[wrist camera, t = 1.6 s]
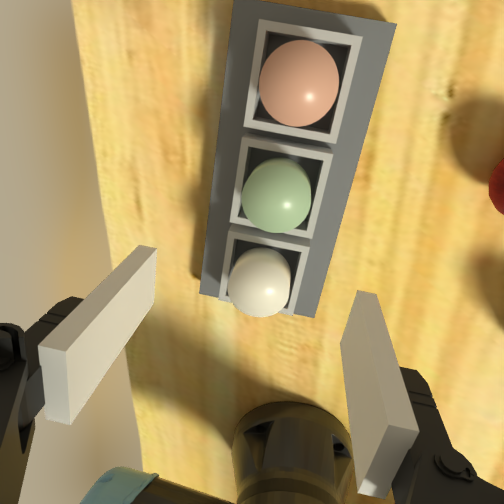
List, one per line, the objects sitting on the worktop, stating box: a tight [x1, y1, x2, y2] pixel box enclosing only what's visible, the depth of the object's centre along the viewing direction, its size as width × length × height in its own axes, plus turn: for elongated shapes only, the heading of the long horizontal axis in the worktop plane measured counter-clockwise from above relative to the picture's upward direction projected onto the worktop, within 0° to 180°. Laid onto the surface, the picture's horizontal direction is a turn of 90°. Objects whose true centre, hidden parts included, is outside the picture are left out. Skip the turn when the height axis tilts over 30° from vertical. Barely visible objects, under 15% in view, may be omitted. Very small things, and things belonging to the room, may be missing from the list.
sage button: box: [241, 157, 311, 233], centre depth 30 cm, size 5×5×3 cm
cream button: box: [228, 247, 291, 317], centre depth 33 cm, size 5×5×3 cm
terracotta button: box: [259, 40, 339, 127], centre depth 26 cm, size 5×5×3 cm
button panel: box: [199, 0, 397, 318], centre depth 33 cm, size 26×12×4 cm, turn 171°
